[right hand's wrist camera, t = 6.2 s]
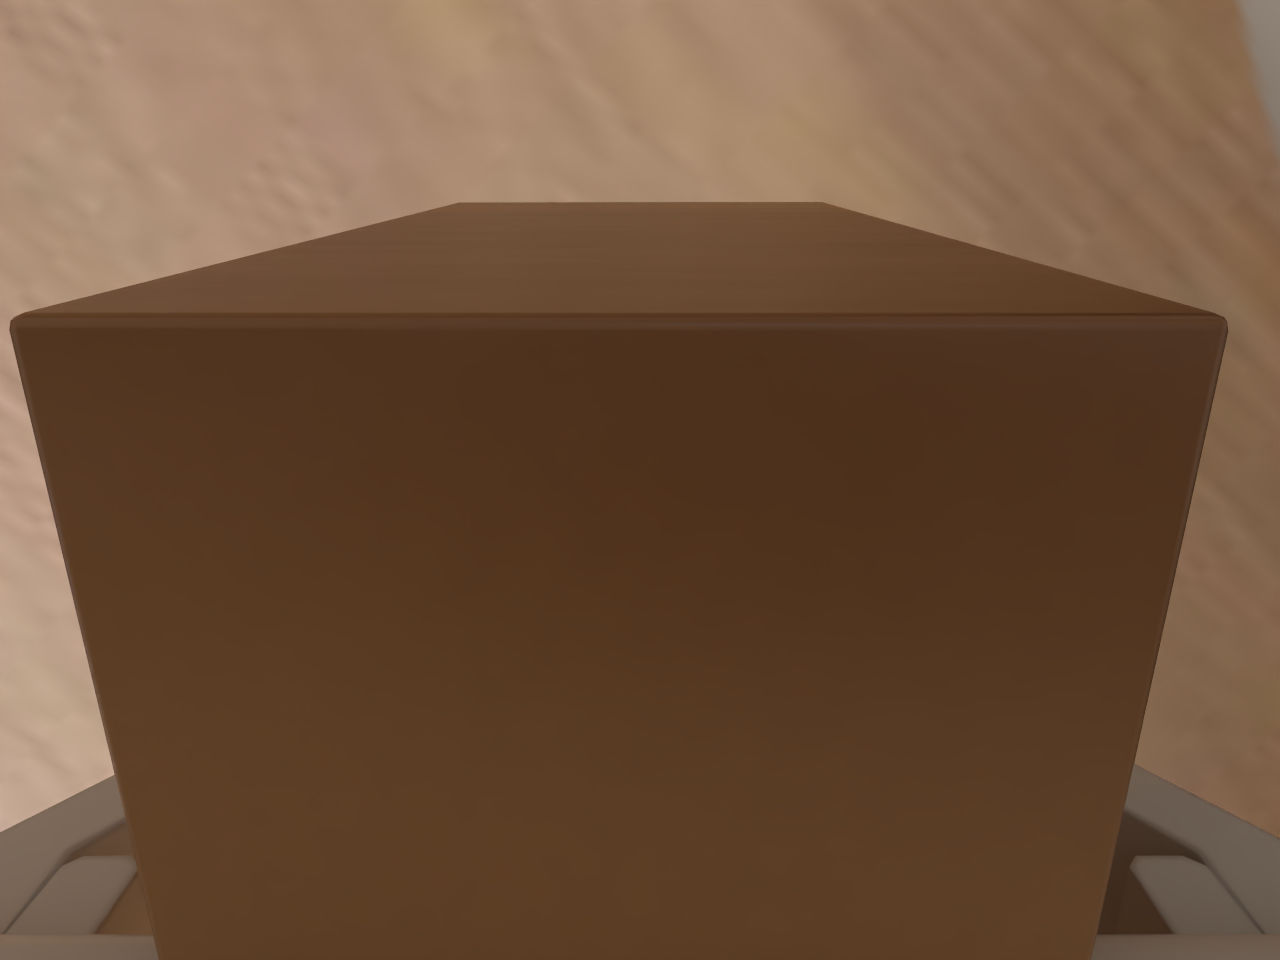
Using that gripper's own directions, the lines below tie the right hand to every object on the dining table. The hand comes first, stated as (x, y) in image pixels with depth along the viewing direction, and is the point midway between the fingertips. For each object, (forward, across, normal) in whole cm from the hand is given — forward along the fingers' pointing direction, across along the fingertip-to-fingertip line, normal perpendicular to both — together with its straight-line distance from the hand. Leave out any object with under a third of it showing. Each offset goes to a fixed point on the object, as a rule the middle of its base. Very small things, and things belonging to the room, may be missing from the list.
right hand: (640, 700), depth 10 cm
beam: (+3, 0, -22) cm, 22 cm away
